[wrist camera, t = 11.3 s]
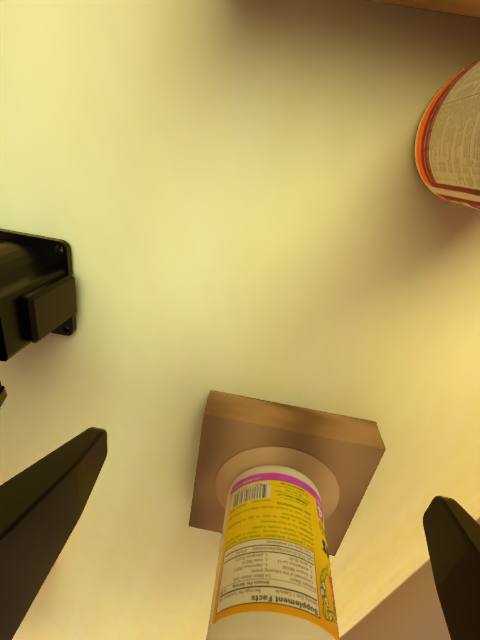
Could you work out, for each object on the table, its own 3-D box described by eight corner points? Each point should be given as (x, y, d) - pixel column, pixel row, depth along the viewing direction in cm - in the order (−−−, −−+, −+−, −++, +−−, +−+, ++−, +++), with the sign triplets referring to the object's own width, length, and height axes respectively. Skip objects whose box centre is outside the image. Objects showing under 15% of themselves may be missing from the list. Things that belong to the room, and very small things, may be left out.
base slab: (195, 498, 30) (188, 527, 27) (211, 390, 24) (203, 414, 22) (330, 525, 29) (334, 557, 27) (375, 421, 24) (386, 450, 22)
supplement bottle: (301, 531, 26) (320, 827, 15) (219, 508, 26) (172, 789, 14) (335, 474, 23) (392, 788, 12) (242, 448, 23) (206, 739, 11)
